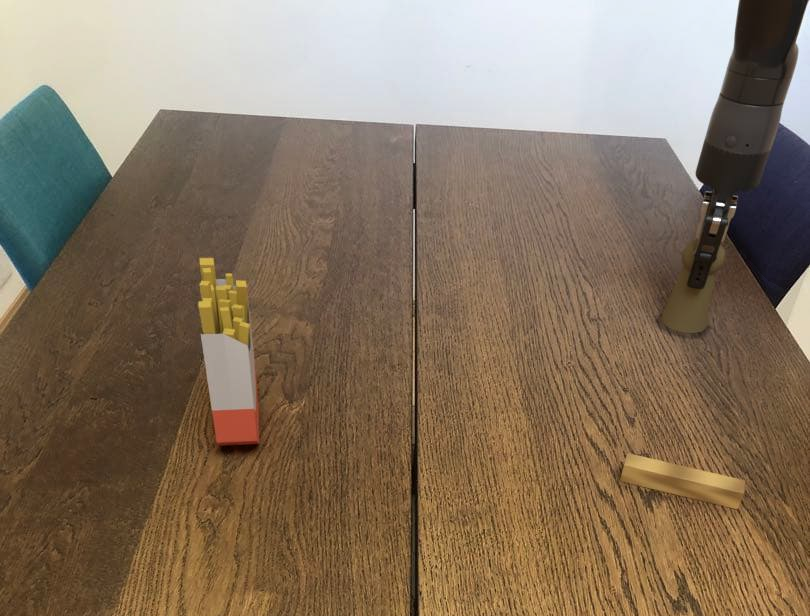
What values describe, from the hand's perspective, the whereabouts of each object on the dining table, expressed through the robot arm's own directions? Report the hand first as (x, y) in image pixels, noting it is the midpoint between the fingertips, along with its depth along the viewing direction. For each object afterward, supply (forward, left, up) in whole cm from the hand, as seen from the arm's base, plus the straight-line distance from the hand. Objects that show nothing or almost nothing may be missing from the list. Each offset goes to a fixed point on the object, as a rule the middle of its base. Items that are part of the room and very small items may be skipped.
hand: (697, 277), depth 106 cm
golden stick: (+11, +35, -6) cm, 37 cm away
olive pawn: (0, 0, -7) cm, 7 cm away
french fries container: (+57, +25, -7) cm, 63 cm away
